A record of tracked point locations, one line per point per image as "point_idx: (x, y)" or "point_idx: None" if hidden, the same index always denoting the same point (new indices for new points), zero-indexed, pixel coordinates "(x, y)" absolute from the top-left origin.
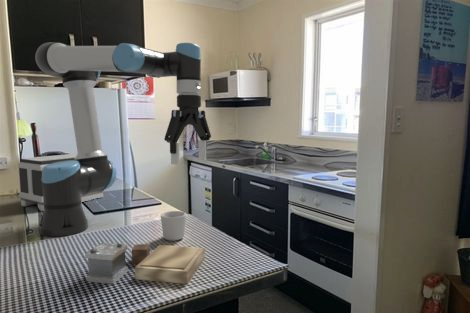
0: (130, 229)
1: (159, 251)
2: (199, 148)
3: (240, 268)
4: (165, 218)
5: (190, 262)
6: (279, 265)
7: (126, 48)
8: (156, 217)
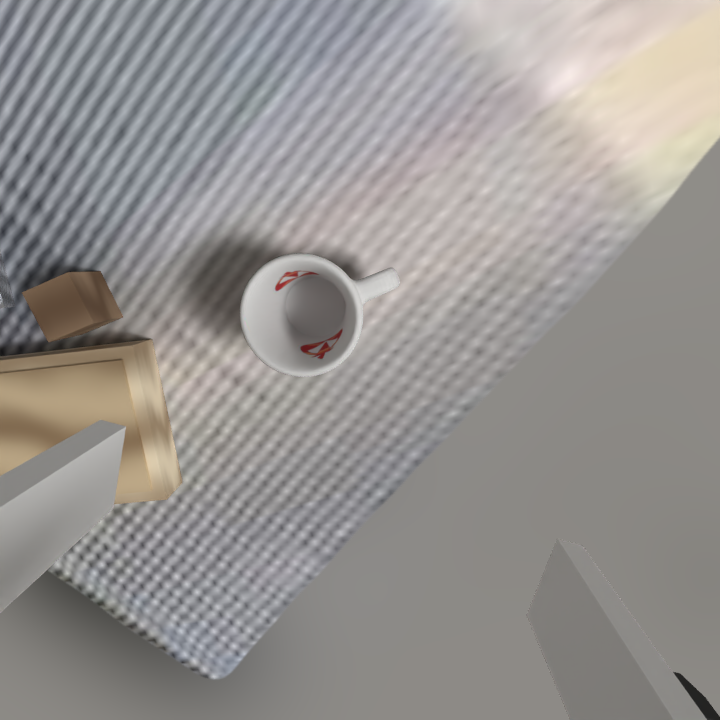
0: (362, 48)
1: (72, 379)
2: (618, 663)
3: (160, 590)
4: (240, 305)
5: None
6: (217, 674)
7: None
8: (583, 61)
